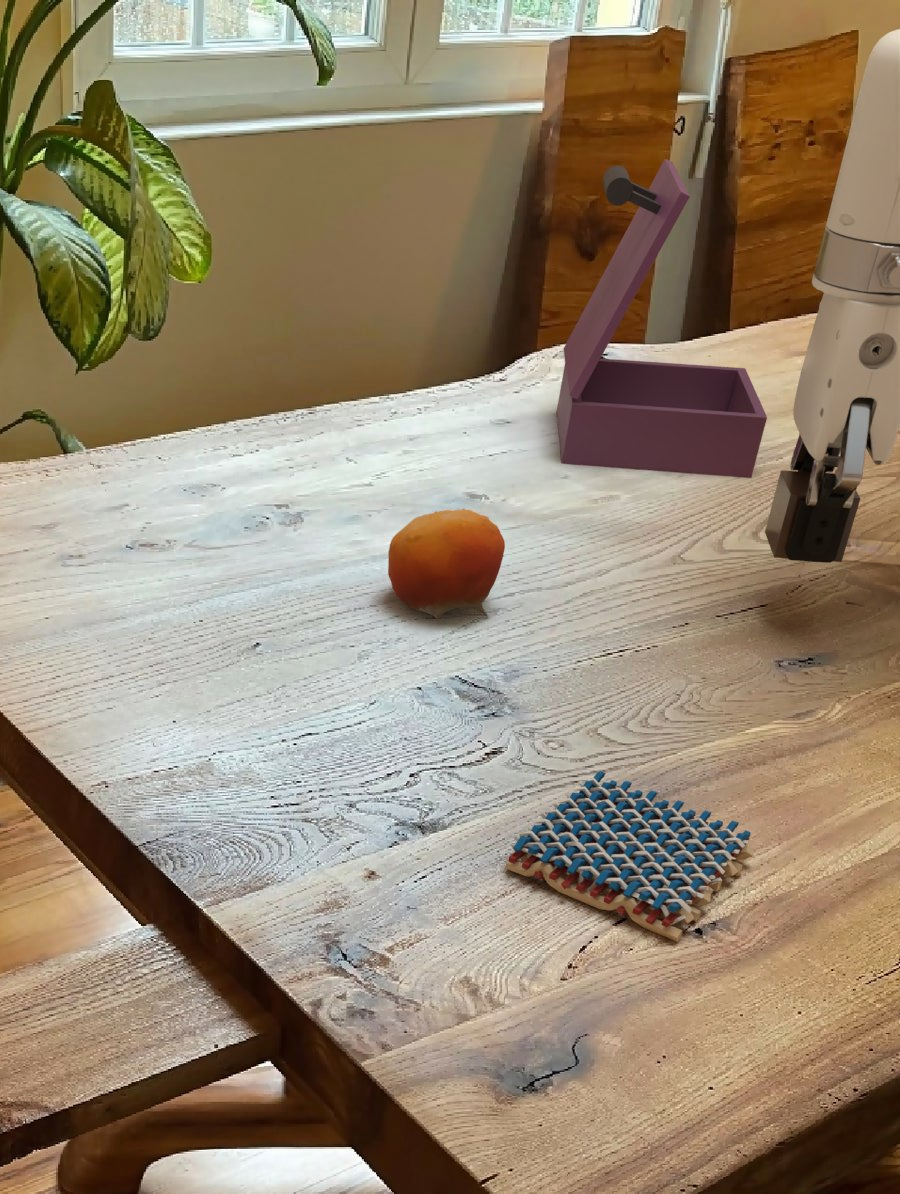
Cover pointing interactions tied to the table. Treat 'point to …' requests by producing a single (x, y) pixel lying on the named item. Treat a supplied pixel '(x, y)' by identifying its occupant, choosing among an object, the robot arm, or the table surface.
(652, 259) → the lid
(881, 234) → the robot arm
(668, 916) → the woven mat
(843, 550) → the block
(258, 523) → the table surface
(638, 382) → the box
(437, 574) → the fruit
